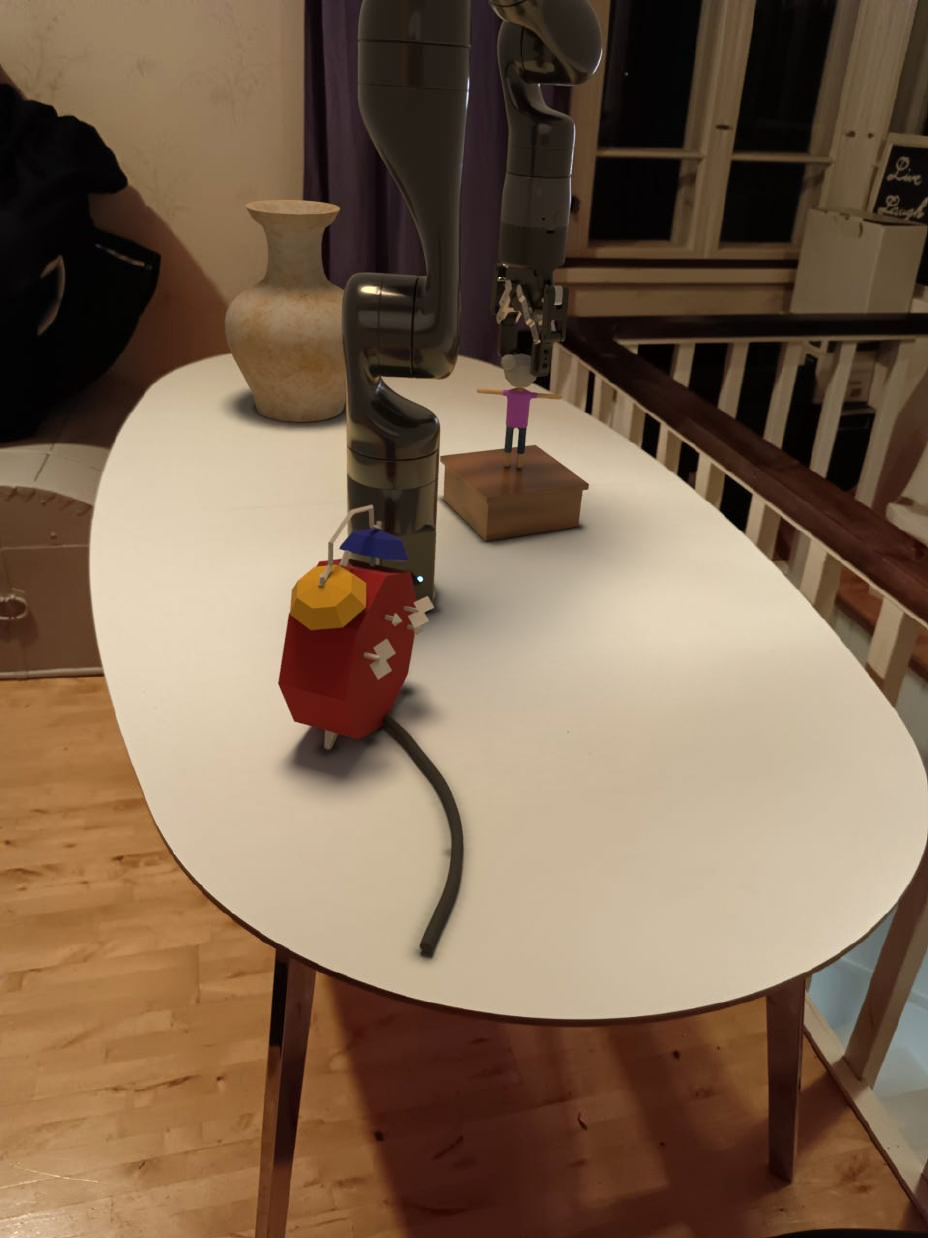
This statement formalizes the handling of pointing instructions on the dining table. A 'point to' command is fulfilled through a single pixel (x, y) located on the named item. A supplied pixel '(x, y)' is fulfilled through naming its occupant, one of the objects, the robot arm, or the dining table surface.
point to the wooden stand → (512, 492)
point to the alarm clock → (350, 635)
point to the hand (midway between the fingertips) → (522, 365)
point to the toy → (517, 401)
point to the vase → (291, 318)
